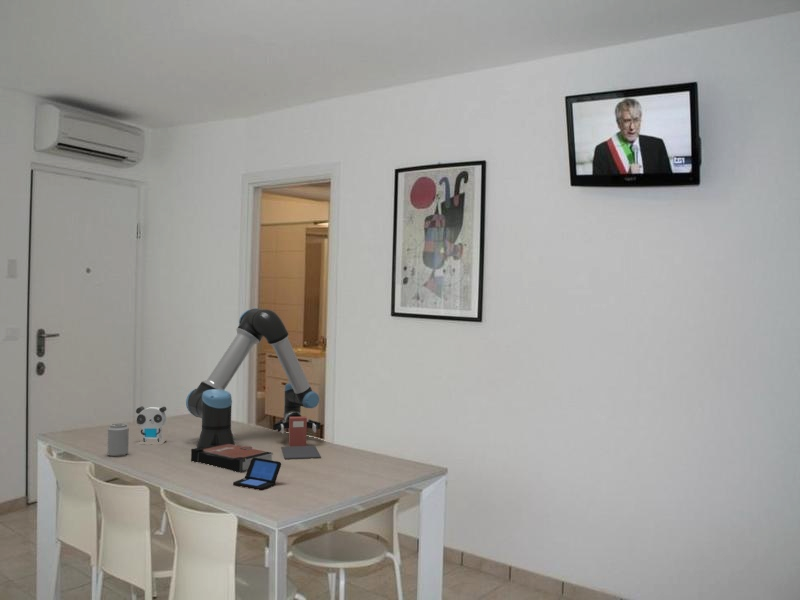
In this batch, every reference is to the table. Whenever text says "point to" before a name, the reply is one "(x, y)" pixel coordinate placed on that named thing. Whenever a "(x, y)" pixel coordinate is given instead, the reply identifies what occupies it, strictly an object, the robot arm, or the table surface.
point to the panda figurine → (151, 422)
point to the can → (118, 439)
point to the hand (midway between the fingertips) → (299, 429)
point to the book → (228, 456)
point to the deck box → (297, 431)
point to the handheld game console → (260, 474)
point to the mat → (300, 452)
